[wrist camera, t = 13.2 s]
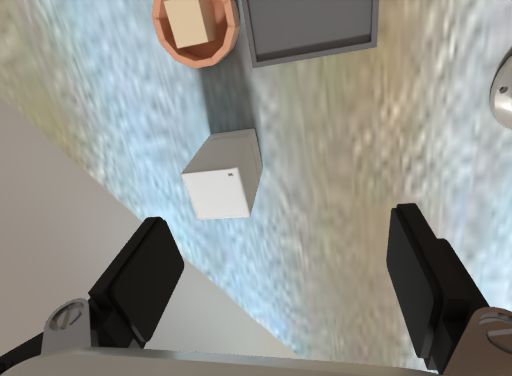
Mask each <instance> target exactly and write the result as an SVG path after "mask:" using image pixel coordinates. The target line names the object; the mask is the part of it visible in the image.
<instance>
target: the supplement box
mask: <svg viewBox="0 0 512 376" xmlns="http://www.w3.org/2000/svg"><path fill="white" fill-rule="evenodd" d="M262 170H263V167H262V162H261V157H260V152H259V147H258V142H257V137H256V133H255V129H254V128H253V129H245V130H237V131H230V132H223V133H216V134H211V135H210V136H209V137H208V139H207V140H206V141H205V143H204V144H203V145H202V147H201V148H200V149H199V151H198V152H197V153H196V155H195V156H194V157H193V159H192V160H191V161H190V163H189V164H188V165H187V167H186V168H185V169H184V171H183V172H182V173H181V176H182V179H183V181H184V184H185V186H186V189H187V192H188V194H189V197H190V199H191V202H192V205H193V207H194V210H195V212H196V215H197V218H198V220H204V219H220V218H239V217H250V215H251V211H252V208H253V204H254V200H255V196H256V192H257V188H258V184H259V181H260V177H261V173H262Z"/></svg>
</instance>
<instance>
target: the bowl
mask: <svg viewBox="0 0 512 376" xmlns="http://www.w3.org/2000/svg"><path fill="white" fill-rule="evenodd" d="M164 1H168V0H154V3H153V12H152V20H153V23H154V26H155V30H156V33H157V36H158V39H159V42H160V44H161V45H162V46H163V47H164V48H165V49H166V50H167V52H168V53H169V54H170V55H171V56H172V57H173V59H174V60H175V61H178V62H180V63H182V64H185V65H187V66H190V67H192V68H200V67H206V66H211V65H215V64H217V63H218V62H220V61H221V60H222V59H223V58H224V57H226V56H227V55H228V54H229V53H230V52H231V50H232V49H233V48H234V47H235V44H236V42H237V39H238V35H239V30H240V17H239V11H238V7H237V4H236V0H211V1H212V6H213V10H214V15H215V19H216V24H217V29H218V33H219V38H220V39H217V40H214V41H210V42H206V43H201V44H196V45H191V46H186V47H182V48H177V46H176V42H175V39H174V35H173V32H172V29H171V25H170V22H169V18H168V15H167V12H166V8H165V5H164Z"/></svg>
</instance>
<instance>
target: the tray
mask: <svg viewBox="0 0 512 376" xmlns="http://www.w3.org/2000/svg"><path fill="white" fill-rule="evenodd" d="M242 6H243V12H244V18H245V24H246V29H247V35H248V41H249V47H250V53H251V59H252V65H253V68H257V67H263V66H269V65H275V64H280V63H286V62H292V61H298V60H304V59H310V58H315V57H321V56H327V55H333V54H339V53H345V52H350V51H356V50H362V49H368V48H374V47H377V28H378V6H379V0H242Z"/></svg>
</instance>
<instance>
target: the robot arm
mask: <svg viewBox="0 0 512 376" xmlns="http://www.w3.org/2000/svg"><path fill="white" fill-rule="evenodd" d="M500 88H501V89H500ZM490 106H491V110H492V113H493V115H494V117H495V118H496V119H497V121H498V122H499V123H500V124H502V125H503V126H505V127H506V128H508V129H510V130H512V55H511V56H510V57H509V58H508V60H507V61H506V62H505V64H504V65H503V66H502V68H501V69H500V71H499V72H498V74H497V76H496V78H495V80H494V83H493V86H492V89H491V94H490ZM386 261H387V268H388V271H389V274H390V277H391V280H392V283H393V286H394V289H395V292H396V295H397V298H398V301H399V304H400V307H401V310H402V313H403V317H404V320H405V323H406V326H407V329H408V332H409V335H410V338H411V341H412V344H413V347H414V350H415V353H416V355H417V357H418V358H423V359H424V362H425V364H426V367H427V370H437V371H438V373H439V374H436V373H431V372H426V371H421V370H414V369H406V368H399V367H390V366H379V365H368V364H357V363H345V362H332V361H318V360H304V359H290V358H275V357H262V356H246V355H231V354H216V353H201V352H186V351H168V350H152V349H143V348H144V346H145V344H146V342H148V341H149V340H150V339H151V337H152V335H153V333H154V331H155V329H156V327H157V325H158V323H159V321H160V318H161V316H162V314H163V312H164V310H165V308H166V306H167V304H168V302H169V299H170V297H171V295H172V293H173V291H174V289H175V287H176V285H177V283H178V280H179V278H180V276H181V274H182V271H183V270H184V261H183V259H182V256H181V254H180V252H179V250H178V247H177V245H176V243H175V240H174V238H173V236H172V234H171V231H170V229H169V227H168V224H167V222H166V221H165V220H163V219H162V218H161V217H148V218H146V219H145V220H144V222H143V223H142V224H141V225H140V227H139V228H138V229H137V231H136V232H135V233H134V234H133V236H132V237H131V238H130V240H129V241H128V243H126V245H125V246H124V247H123V249H122V250H121V251H120V253H119V254H118V255H117V256H116V258H115V259H114V260H113V261H112V263H111V264H110V265H109V267H108V268H107V269H106V270H105V272H104V273H103V274H102V276H101V277H100V278H99V279H98V281H97V282H96V283H95V285H94V286H93V287H92V288H91V290H90V291H89V292H88V294H89V295H90V299H89V300H88V301H87V300H86V299H83V298H78V299H73V300H71V301H69V302H66V303H65V304H63V305H62V306H60V307H59V308H58V309H56V310H55V311H54V312H53V313H52V314H51V315H50V317H49V318H48V320H47V321H46V324H45V327H44V332H42V333H40V334H39V335H37V336H35V337H33V338H32V339H30V340H28V341H27V342H25V343H23V344H21V345H20V346H18V347H16V348H14V349H13V350H11V351H9V352H8V353H6V354H4V355H2V356H1V357H0V376H512V312H511V311H508V310H506V309H502V308H497V307H490V306H489V304H488V303H487V301H486V300H485V298H484V297H483V295H482V294H481V292H480V290H479V289H478V287H477V286H476V284H475V283H474V281H473V279H472V278H471V276H470V275H469V273H468V272H467V270H466V269H465V267H464V265H463V264H462V262H461V261H460V259H459V258H458V256H457V254H456V253H455V251H454V250H453V248H452V247H451V245H450V243H449V242H448V241H447V240H446V239H444V238H443V239H437V238H436V236H435V235H434V233H433V231H432V230H431V228H430V226H429V225H428V223H427V221H426V220H425V218H424V216H423V215H422V213H421V211H420V210H419V208H418V206H417V205H416V204H415V203H408V204H398V205H397V208H392V210H391V218H390V228H389V239H388V249H387V259H386Z"/></svg>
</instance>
